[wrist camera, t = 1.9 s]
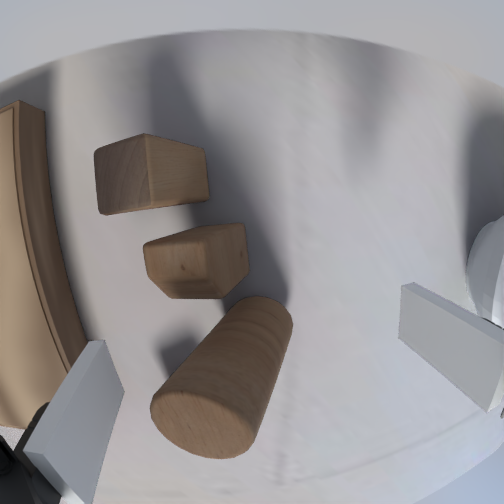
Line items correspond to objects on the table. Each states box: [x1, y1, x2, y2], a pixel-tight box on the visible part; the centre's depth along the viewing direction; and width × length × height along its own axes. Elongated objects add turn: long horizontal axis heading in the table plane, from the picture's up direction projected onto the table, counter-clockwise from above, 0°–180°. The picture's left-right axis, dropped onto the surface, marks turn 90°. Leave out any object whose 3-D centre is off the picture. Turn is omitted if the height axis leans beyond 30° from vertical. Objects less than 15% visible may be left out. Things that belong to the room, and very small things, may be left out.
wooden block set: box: [94, 133, 293, 459], centre depth 15 cm, size 18×9×10 cm, turn 6°
